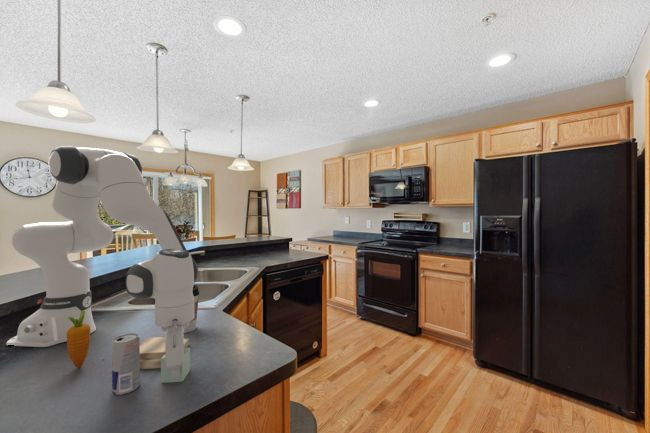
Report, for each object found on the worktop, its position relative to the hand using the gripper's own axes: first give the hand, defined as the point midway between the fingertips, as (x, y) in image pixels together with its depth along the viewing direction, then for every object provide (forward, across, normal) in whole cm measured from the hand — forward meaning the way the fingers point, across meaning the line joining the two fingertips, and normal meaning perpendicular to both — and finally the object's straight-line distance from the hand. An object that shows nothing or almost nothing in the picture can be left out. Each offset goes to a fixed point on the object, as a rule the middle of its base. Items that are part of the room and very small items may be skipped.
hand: (176, 368), depth 71 cm
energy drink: (+2, 0, +10) cm, 11 cm away
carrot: (+2, +17, +23) cm, 29 cm away
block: (+2, 0, 0) cm, 2 cm away
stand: (+2, +14, +5) cm, 15 cm away
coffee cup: (+2, +31, -3) cm, 31 cm away
